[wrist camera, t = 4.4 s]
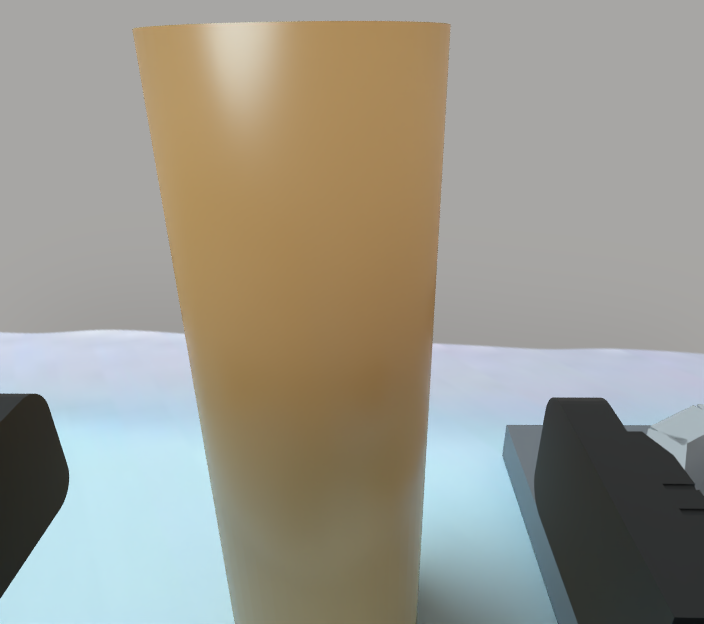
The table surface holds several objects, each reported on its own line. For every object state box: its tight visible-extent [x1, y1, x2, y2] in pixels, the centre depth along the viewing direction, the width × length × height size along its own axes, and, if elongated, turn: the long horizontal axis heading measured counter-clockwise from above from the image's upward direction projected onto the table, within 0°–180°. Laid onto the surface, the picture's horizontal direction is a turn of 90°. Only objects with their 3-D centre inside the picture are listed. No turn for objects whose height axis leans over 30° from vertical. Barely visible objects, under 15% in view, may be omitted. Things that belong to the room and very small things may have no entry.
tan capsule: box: [132, 21, 450, 624], centre depth 12 cm, size 5×5×15 cm
